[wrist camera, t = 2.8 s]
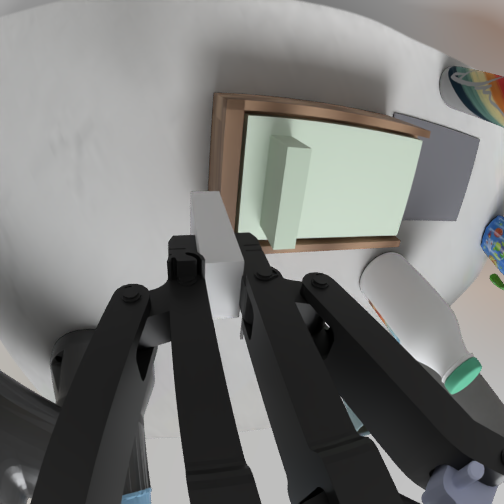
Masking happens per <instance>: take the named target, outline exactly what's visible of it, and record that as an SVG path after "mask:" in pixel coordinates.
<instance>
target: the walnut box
mask: <svg viewBox="0 0 504 504" xmlns="http://www.w3.org/2000/svg"><path fill="white" fill-rule="evenodd" d="M245 113H250V114H265V115H278V116H288V117H298V118H307V119H315V120H323V121H330V122H337V123H344V124H350V125H356V126H362V127H368V128H373V129H378V130H384V131H389V132H393V133H398V134H403V135H407V136H411V137H415V138H417V137H418V136H421V137H425V138H430V133H431V131H429V130H426V129H424V128H421V127H418V126H416V125H413V124H410V123H408V122H405V121H402V120H399V119H396V118H393V117H390V116H387V115H384V114H379V113H375V112H370V111H365V110H360V109H355V108H350V107H345V106H339V105H333V104H327V103H321V102H314V101H307V100H300V99H292V98H283V97H273V96H262V95H250V94H234V93H214V97H213V110H212V125H211V142H210V160H209V181H208V191H219V192H220V195H221V198H222V201H223V203H224V206H225V209H226V212H227V215H228V217H229V220H230V223H231V226H232V228H233V231H234V233H235V220H236V208H237V195H238V183H239V171H240V159H241V148H242V136H243V125H244V114H245ZM258 241H259V243H260V246H261V248H262V251H263V252H264V254H272V253H291V252H310V251H329V250H348V249H367V248H386V247H399V244H400V240H399V239H398V238H397V237H396V236H395V235H393V236H357V237H326V238H297V239H296V245H295V249H279V250H273V249H272V247H271V245H270V243H269V241H268V240H258Z"/></svg>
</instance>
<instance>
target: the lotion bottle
mask: <svg viewBox="0 0 504 504" xmlns="http://www.w3.org/2000/svg"><path fill="white" fill-rule="evenodd" d="M440 93H441V96H442V99H443V101H444V102H445V103H446V105H448V106H449V107H450V108H453V109H455V110H458V111H461V112H464V113H467V114H469V115H472V116H475V117H478V118H480V119H483V120H486V121H488V122H491V123H494V124H496V125H499V126H501V127H503V128H504V77H503V76H499V75H495V74H491V73H487V72H483V71H478V70H473V69H469V68H463V67H457V66H451V67H448V68H446V69H445V70H444V72H443V73H442V75H441V79H440Z"/></svg>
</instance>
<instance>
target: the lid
mask: <svg viewBox="0 0 504 504" xmlns="http://www.w3.org/2000/svg"><path fill="white" fill-rule="evenodd" d="M422 142H423V141H422V140H420V139H418V138H415V137H411V136H407V135H403V134H398V133H393V132H389V131H384V130H378V129H373V128H368V127H362V126H356V125H350V124H344V123H337V122H330V121H323V120H315V119H307V118H298V117H288V116H278V115H265V114H250V113H245V114H244V125H243V136H242V148H241V159H240V171H239V183H238V195H237V208H236V220H235V233H244V232H250V233H251V234H253V235H254V236H255V237H256V238H257V239H258V240H268V241H269V243H270V245H271V247H272V249H273V250H279V249H295V245H296V239H297V238H326V237H357V236H393V235H397V233H398V230H399V227H400V224H401V220H402V217H403V214H404V211H405V207H406V204H407V200H408V197H409V193H410V190H411V186H412V182H413V179H414V175H415V171H416V167H417V163H418V159H419V155H420V151H421V146H422Z"/></svg>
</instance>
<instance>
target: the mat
mask: <svg viewBox="0 0 504 504" xmlns="http://www.w3.org/2000/svg"><path fill="white" fill-rule="evenodd" d="M393 118H396V119H399V120H402V121H405V122H408V123H410V124H413V125H416V126H418V127H421V128H424V129H426V130H429V131H431V133H430V138H425V137H421V136H418V137H417V138H418V139H420V140H422V141H423V142H422V146H421V151H420V155H419V159H418V163H417V167H416V171H415V175H414V179H413V182H412V186H411V190H410V193H409V197H408V200H407V204H406V207H405V211H404V214H403V217H402V220H432V221H456V219H457V217H458V214H459V211H460V208H461V205H462V202H463V199H464V196H465V193H466V189H467V186H468V183H469V179H470V176H471V172H472V169H473V165H474V161H475V158H476V154H477V150H478V146H479V141H480V139H477V138H474V137H472V136H469V135H466V134H463V133H461V132H458V131H455V130H452V129H449V128H446V127H443V126H440V125H437V124H433V123H430V122H427V121H423V120H420V119H416V118H413V117H409V116H406V115H402V114H398V113H394V115H393Z"/></svg>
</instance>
